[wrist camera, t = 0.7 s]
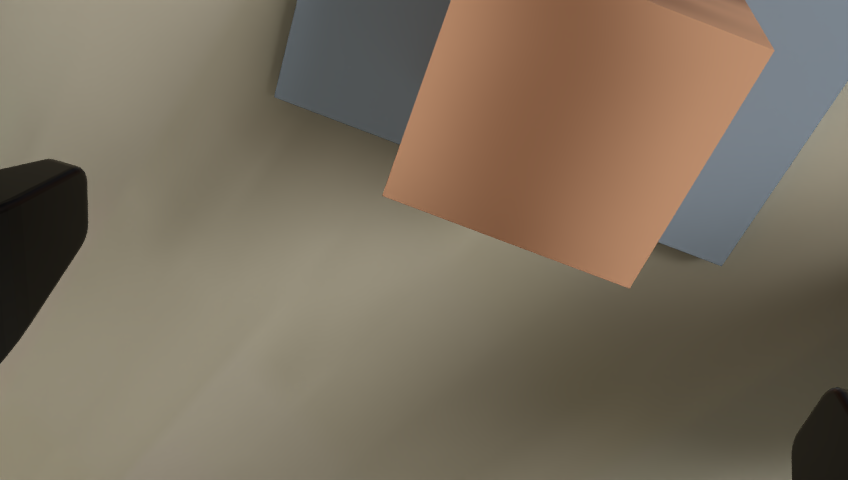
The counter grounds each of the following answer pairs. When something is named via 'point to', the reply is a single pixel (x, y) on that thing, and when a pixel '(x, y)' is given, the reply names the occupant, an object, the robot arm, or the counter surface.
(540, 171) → the terracotta block
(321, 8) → the board
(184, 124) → the counter surface
